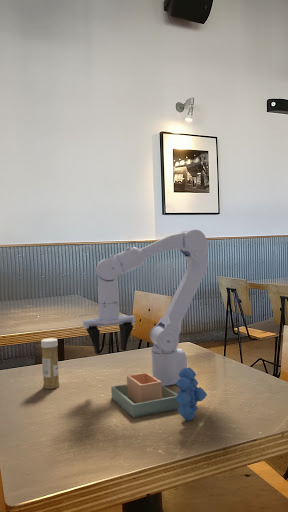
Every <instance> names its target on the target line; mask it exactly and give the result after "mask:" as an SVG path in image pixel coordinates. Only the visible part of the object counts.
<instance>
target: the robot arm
mask: <svg viewBox="0 0 288 512" xmlns="http://www.w3.org/2000/svg"><path fill="white" fill-rule="evenodd" d="M208 248H209V241H208V240H207V237H206V235H205V234H204V233H203V231H201V230H200V229H191V230H183V231H181V232H178V233H174V234H170V235H167V236H165V237H163V238H161V239H158V240H156V241H155V242H152V243H150V244H148V245H146V246H144V247H141V248H138V247H136V246H132V247H131V246H127V247H125V250H123V251H121V252H119V253H116V254H110V255H109V258H103V259H101V260H100V261H99V262H98V263H97V265H96V268H95V274H96V275H97V284H98V285H97V300H98V317H97V318H91V319H86V320H84V319H83V320H82V328H83V329H86V332H87V334H88V336H89V338H90V339H91V342H92V343H91V344H93V345H92V346H93V350H94V353H95V354H96V355H100V353H101V350H100V335H101V333H100V332H101V331H100V329H99V327H108V326H116V325H118V327H119V334H120V349H121V350H122V351H123V352H124V351H127V346H128V342H129V337H130V336H131V333H132V331H133V328H134V324H136V316H135V315H121V314H120V291H119V285H118V283H119V281H118V277H119V275H124V274H126V273H128V272H130V271H133V270H135V269H137V268H140V267H142V266H143V264H144V262H145V260H146V259H147V260H148V258H151V257H154V256H155V255H156V256H157V255H159V254H160V253H164V252H166V251H168V250H179V251H180V253H181V254H182V255H184V258H185V260H186V261H185V262H186V263H187V268H186V270H185V271H184V275H183V276H182V278H181V280H180V282H179V285H178V286H177V288H176V291H175V293H174V295H173V297H172V299H171V300H170V303H169V305H168V307H167V309H166V311H165V313H164V314H163V315H162V317H160V318H159V321H158V323H157V324H156V325H154V326H153V327H152V328H151V330H150V331H149V339H150V341H151V343H152V344H153V346H152V348H151V366H152V367H151V368H152V369H151V370H152V376H153V377H155V378H156V379H158V380H160V381H161V382H162V385H163V386H165V387H167V386H168V387H169V386H172V385H176V383H177V381H178V380H179V379H180V376H179V375H178V374H179V372H180V371H181V370H182V369H183V368H188V360H187V355H186V353H185V351H184V349H182V348H178V346H179V344H180V343H179V341H180V334H181V332H182V322H183V319H184V318H185V315H186V313H187V311H188V309H189V307H190V305H191V303H192V300H193V299H194V296H195V295H196V293H197V290H198V289H199V286H200V284H201V282H202V280H203V278H204V275H205V274H206V272H207V269H208V267H209V258H208V257H209V255H208ZM120 315H121V316H120Z"/></svg>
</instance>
